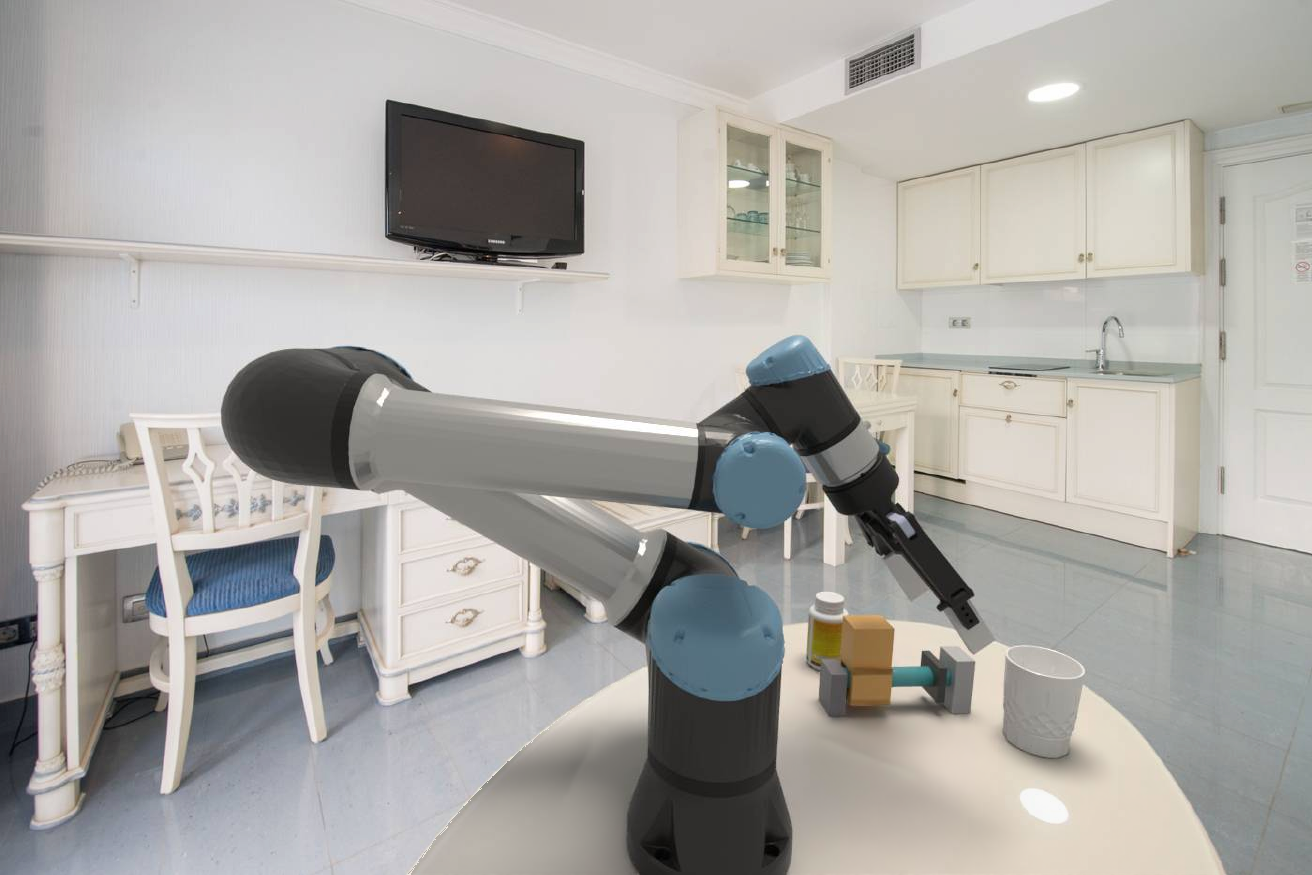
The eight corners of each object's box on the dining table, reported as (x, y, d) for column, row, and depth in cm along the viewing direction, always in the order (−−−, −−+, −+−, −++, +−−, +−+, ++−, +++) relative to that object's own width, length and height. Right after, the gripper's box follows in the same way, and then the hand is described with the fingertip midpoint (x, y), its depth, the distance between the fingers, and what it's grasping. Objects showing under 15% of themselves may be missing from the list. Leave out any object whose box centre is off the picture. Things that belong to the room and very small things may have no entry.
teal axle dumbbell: (829, 717, 79) (833, 664, 78) (817, 697, 83) (821, 646, 82) (971, 714, 80) (976, 662, 79) (952, 694, 85) (956, 645, 84)
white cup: (1087, 766, 71) (1098, 682, 69) (1009, 756, 72) (1019, 673, 71) (1058, 725, 78) (1067, 649, 77) (988, 717, 80) (996, 641, 78)
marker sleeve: (850, 705, 79) (856, 630, 77) (837, 685, 84) (841, 614, 82) (890, 705, 79) (896, 630, 78) (874, 684, 84) (879, 613, 82)
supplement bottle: (853, 672, 90) (857, 603, 89) (816, 675, 89) (820, 605, 88) (834, 653, 96) (838, 588, 94) (799, 656, 94) (803, 590, 93)
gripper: (938, 470, 56) (1050, 651, 60) (838, 431, 81) (922, 561, 84) (867, 519, 57) (984, 696, 60) (789, 465, 81) (875, 593, 85)
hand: (948, 617), depth 72 cm, fingers open, 13 cm apart
